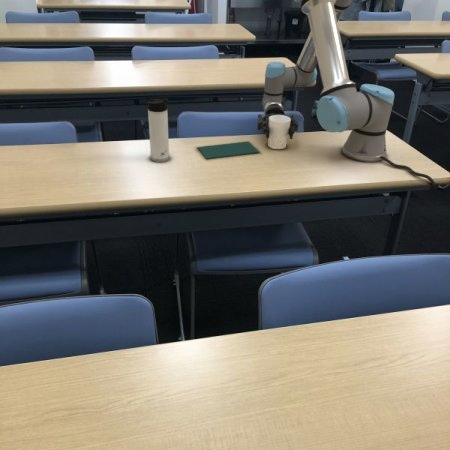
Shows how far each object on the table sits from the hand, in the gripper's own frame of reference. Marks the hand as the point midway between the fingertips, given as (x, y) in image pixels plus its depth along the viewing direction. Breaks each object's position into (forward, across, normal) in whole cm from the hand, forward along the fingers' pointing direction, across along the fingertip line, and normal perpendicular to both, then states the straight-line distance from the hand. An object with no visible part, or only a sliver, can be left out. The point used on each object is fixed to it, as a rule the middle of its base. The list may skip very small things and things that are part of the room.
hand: (280, 134), depth 172 cm
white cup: (-5, 0, -6) cm, 8 cm away
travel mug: (+9, +42, -6) cm, 43 cm away
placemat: (+1, +18, -6) cm, 19 cm away
